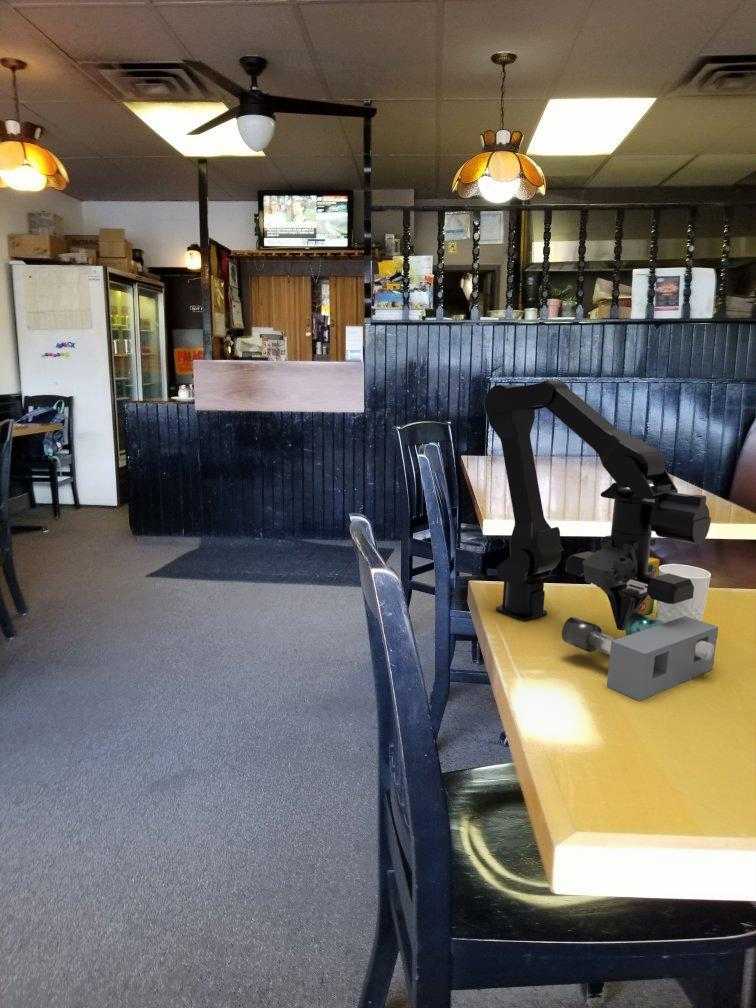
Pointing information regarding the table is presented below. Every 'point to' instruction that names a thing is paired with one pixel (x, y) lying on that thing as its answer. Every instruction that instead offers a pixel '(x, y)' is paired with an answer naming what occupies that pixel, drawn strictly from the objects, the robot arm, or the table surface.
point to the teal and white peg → (644, 622)
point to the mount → (659, 657)
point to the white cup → (690, 606)
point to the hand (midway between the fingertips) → (621, 629)
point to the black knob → (585, 636)
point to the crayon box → (648, 602)
